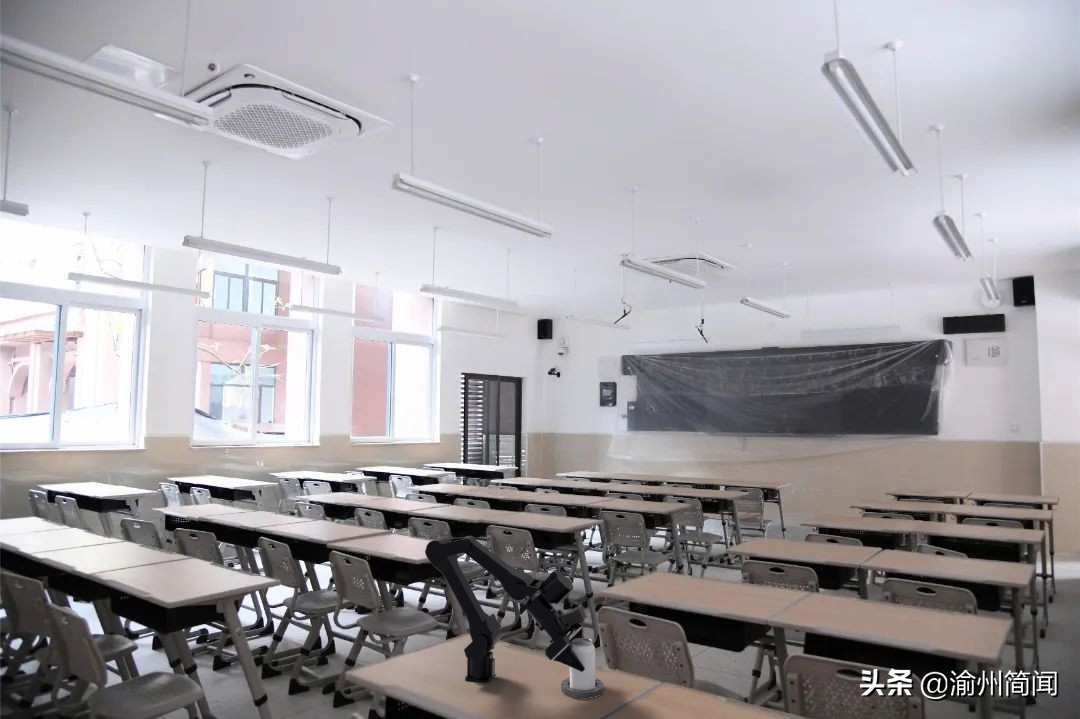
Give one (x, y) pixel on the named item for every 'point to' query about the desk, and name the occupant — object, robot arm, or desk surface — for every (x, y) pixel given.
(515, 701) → the desk surface
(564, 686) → the collar
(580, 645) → the can
